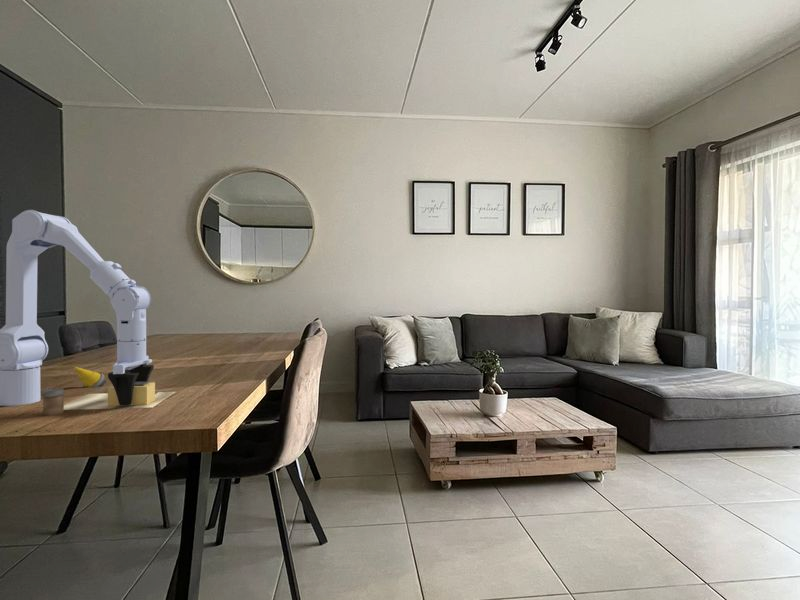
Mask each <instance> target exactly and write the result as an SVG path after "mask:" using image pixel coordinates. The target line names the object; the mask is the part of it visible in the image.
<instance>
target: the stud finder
mask: <svg viewBox="0 0 800 600" xmlns="http://www.w3.org/2000/svg"><path fill="white" fill-rule="evenodd" d="M155 392H156V382H155V381H154V382H150V381H148V382H135V384H134V389H133V397H132V402H131V404H130V405H147V404H149V403H151V402H152V401H154V400H155ZM107 393H108V406H121V405H119V402H118V398H117V394H116V391H115V389H114V386H113V384H112V385H111V386H109V387H107Z"/></svg>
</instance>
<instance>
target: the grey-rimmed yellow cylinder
mask: <svg viewBox="0 0 800 600" xmlns="http://www.w3.org/2000/svg"><path fill="white" fill-rule="evenodd" d="M73 367H74V370H75V372H76V374H77V375H78V377H79V378H80V380H81V383H82V384H83V386H82V387H83V388H100V387H101V388H102V387H103V386H104V385H105V384H106V382H107V380H105V374H103V373H102V372H101V371H96V372H95V371H92V370H89V369H85V368H81V367H79V366H73Z"/></svg>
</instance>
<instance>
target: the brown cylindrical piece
mask: <svg viewBox="0 0 800 600" xmlns="http://www.w3.org/2000/svg"><path fill="white" fill-rule="evenodd" d="M41 392H42V393H41V394H42V395H41V396H42V411H43V412H42V415H43V416H46V417H51V416H52V417H53V416H58V415H62V414H64V413H65V412H64V411H65V410H64V404H65V403H64V398H65V397H64V395H65V389H64V388H60V387H58V388H48V389H45V390H44V389H43V390H42V391H41Z"/></svg>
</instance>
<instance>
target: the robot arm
mask: <svg viewBox="0 0 800 600" xmlns="http://www.w3.org/2000/svg"><path fill="white" fill-rule="evenodd" d="M11 220H12V221H11V224H12V225H11V226H12V227H11V229H12V230H11V234H10V236H9V239H8V241H7V243H6V252H5V253H6V254H5V255H6V258H5V260H6V262H5V263H6V267H5V268H6V269H5V270H6V271H5V274H6V275H5V286H6V287H5V325H3V326H2V327H1V328H0V406H9V407H10V406H11V407H12V406H13V407H15V406H23V405H24V406H25V405H29V404H35V403H37V402H40V401H41V400H42V399H41V396H42V395H41V394H42V393H41V366H42V365H43V361H44V360H45V359H46V358H47V356H48V354H49V345H48V343H47V340H46V339H45V331H44V329H42V327H41V326H39V325H38V321H37V320H38V319H37V318H38V317H37V316H38V257H39V255H40V254H42V253H43V252H45V251H46V250H47V249H50V248H53V247H56V246H62V247H64V248H65V249H66V250H67V251H68V252H69V253H71V254H72V255H73V256H74V257H75V258H76V259H77V260H78V261H80V262H81V263H82V264H83V265H84V266H85V267H86V268H87V269H89V270H90V273H89V278H90V279H91V281H92V282H94V283H95V284H96V286H98V287H99V288H100V289H101V290H102V292H104V293H105V295H106V296H108V297H109V299H110V300H109V301H110V302H109V303H110V304H111V307H112V308H113V310H114V311H115V318H116V344H117V345H116V361H115V364H113V365H112V371H111V372H109V373H107V379H109V380H108V381H110V382H111V384H112V385H113V386H114V389H115V391H116V394H117V398H118V402H119V405H130V404H131V402H132V397H133V389H134V384H135V382H149V378H150V376H151V374H152V372H153V371H154V369H155V365H154V364H151V363H152V362H153V359H151V358H149V357H150V355H147V309H148V308H150V306H151V303H152V297H151V294H150V292H149V290H148V289H147V288H146V287H144V286H141V285H136V284H137V282H136V280H134V279H132V278H130V277H129V276H127V274H126V273H125V272H124V271H123V270H122V265H121V264H119V263H116V262H114V261H111V260H104V259H103V258H102V257H101V256H100V255H99V253H98V252H97V251H96V250H95V248H94V247H92V245H91V244H89V242H88V241H87V240H86V238H84V236H83V235H82V234H81V233H80V232H79V230H78V227H77V226H76V225H74V224H73V223H71V221H70V220H69V219H68V218H67V217H64V216H61V215H54V214H49V213H43V212H40V211H37V210H35V209H27V210H26V209H25V210H24V211H22V212H21V213H19V214H18V215H16V216H15V217H13V219H11Z"/></svg>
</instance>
